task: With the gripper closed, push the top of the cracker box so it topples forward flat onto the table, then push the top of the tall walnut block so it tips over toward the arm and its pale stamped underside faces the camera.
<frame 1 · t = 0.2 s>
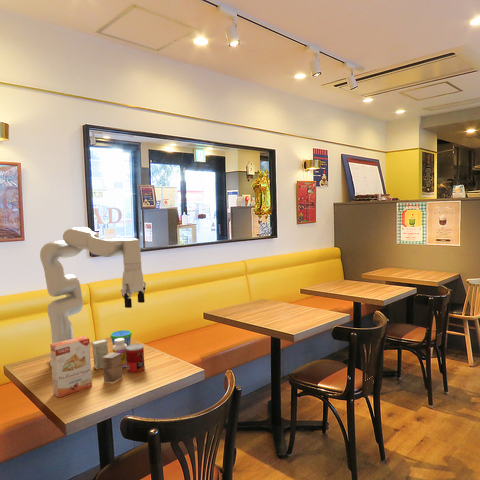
hand: (134, 304, 177), 31 cm above the table, fingers open, 9 cm apart
skincare box: (101, 366, 189), on the table
supplement bottle: (121, 366, 189), on the table
canned food: (136, 370, 183), on the table
walnut block: (113, 379, 173), on the table
snack cup: (122, 352, 208), on the table
cracker box: (73, 390, 164), on the table
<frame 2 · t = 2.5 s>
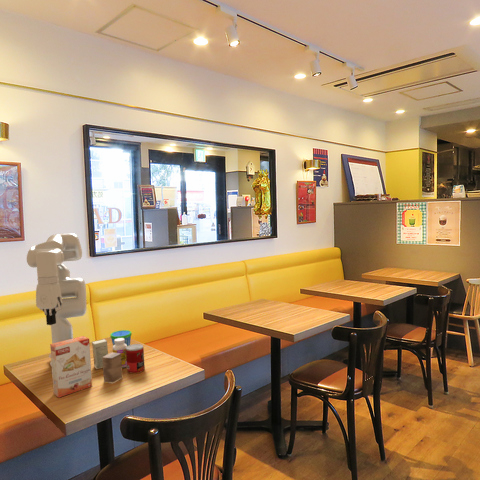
hand: (51, 324, 166), 27 cm above the table, fingers closed
nothing on the table moved.
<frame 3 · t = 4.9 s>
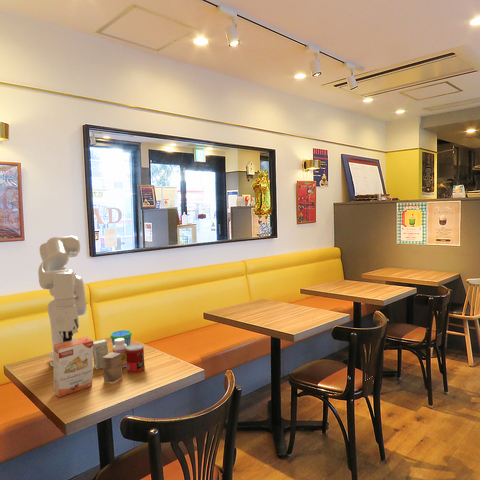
hand: (68, 346, 164), 18 cm above the table, fingers closed
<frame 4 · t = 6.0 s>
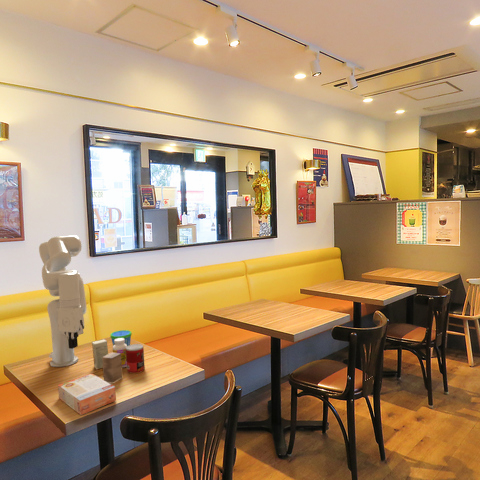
hand: (73, 347, 163), 18 cm above the table, fingers closed
cracker box: (75, 385, 162), point 3 cm above the table
everything else where it was.
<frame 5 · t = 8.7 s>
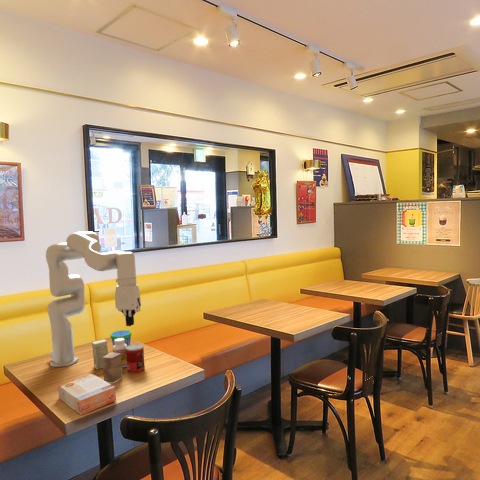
hand: (130, 325, 167), 25 cm above the table, fingers closed
nothing on the table moved.
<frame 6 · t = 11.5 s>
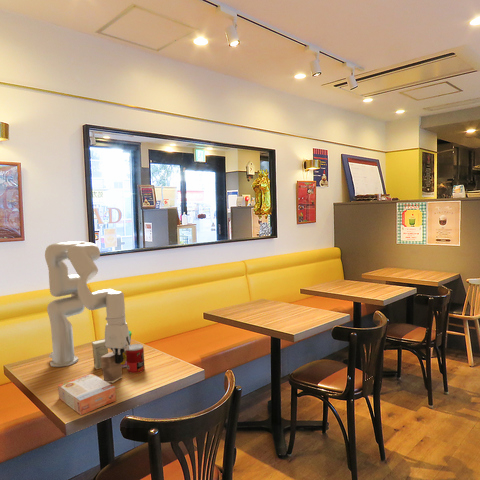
hand: (119, 362, 171), 8 cm above the table, fingers closed
walnut block: (113, 379, 173), on the table, tilted 5°, touching gripper
everything else where it was.
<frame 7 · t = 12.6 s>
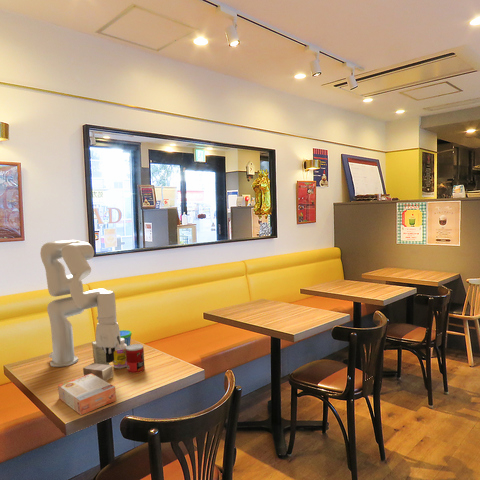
hand: (110, 361, 173), 8 cm above the table, fingers closed
walnut block: (108, 373, 174), point 2 cm above the table, tilted 90°
everything else where it was.
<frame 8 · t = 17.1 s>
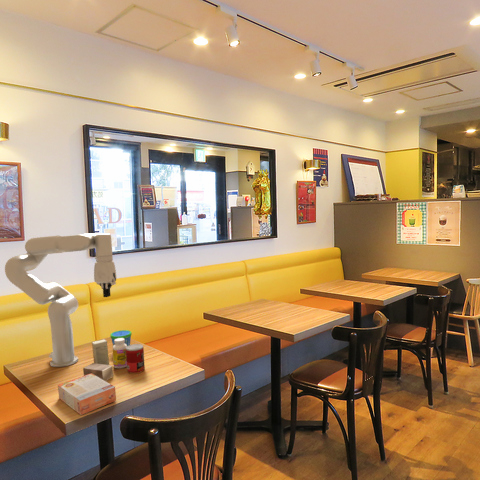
hand: (107, 296, 193), 32 cm above the table, fingers closed
nothing on the table moved.
at the end: cracker box tilted 89°; walnut block tilted 90°; walnut block inside the target area (0.5 cm from its centre), point 2.4 cm above the table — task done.
